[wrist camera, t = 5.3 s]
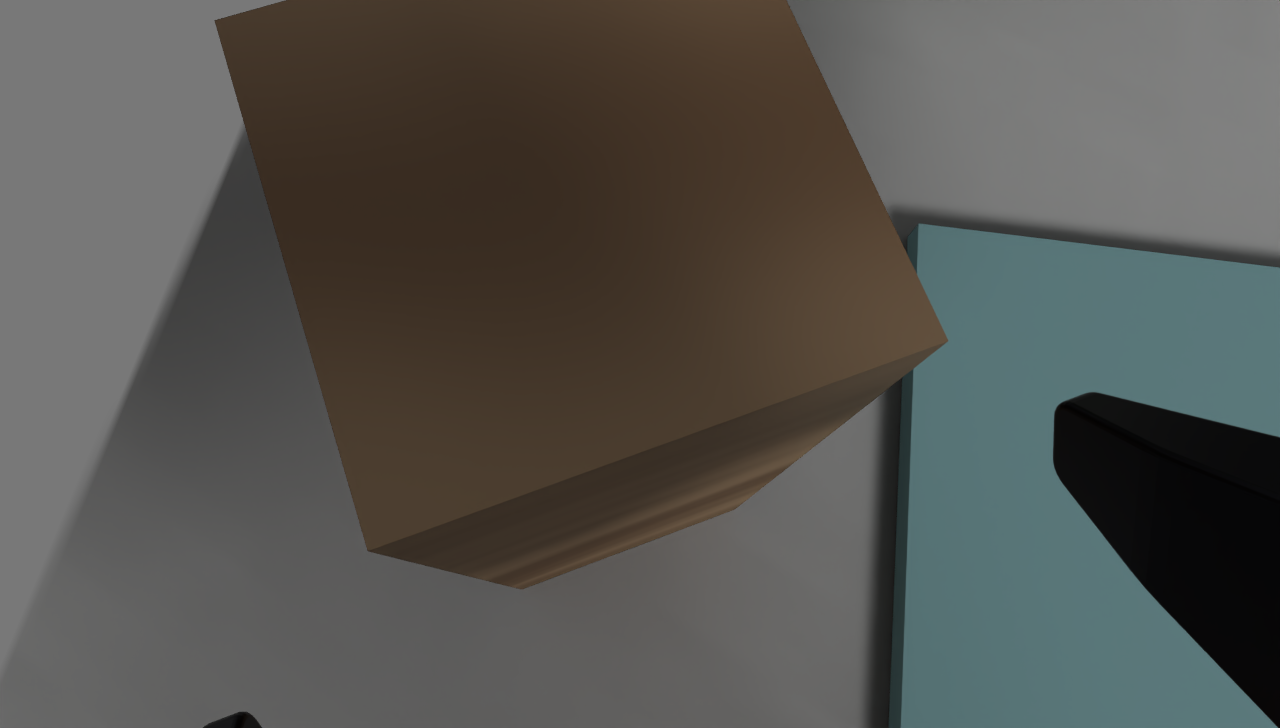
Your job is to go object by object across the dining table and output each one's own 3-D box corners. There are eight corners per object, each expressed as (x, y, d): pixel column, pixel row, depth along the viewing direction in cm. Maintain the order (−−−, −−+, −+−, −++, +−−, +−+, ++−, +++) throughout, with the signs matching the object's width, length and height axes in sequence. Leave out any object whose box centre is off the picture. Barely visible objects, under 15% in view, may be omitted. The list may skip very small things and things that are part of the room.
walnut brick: (734, 509, 20) (948, 340, 8) (521, 589, 19) (367, 551, 7) (655, 309, 21) (727, -123, 9) (452, 379, 21) (213, 19, 8)
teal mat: (1455, 832, 19) (1492, 842, 18) (887, 764, 19) (899, 771, 18) (1393, 296, 22) (1421, 284, 21) (907, 236, 22) (918, 223, 21)
